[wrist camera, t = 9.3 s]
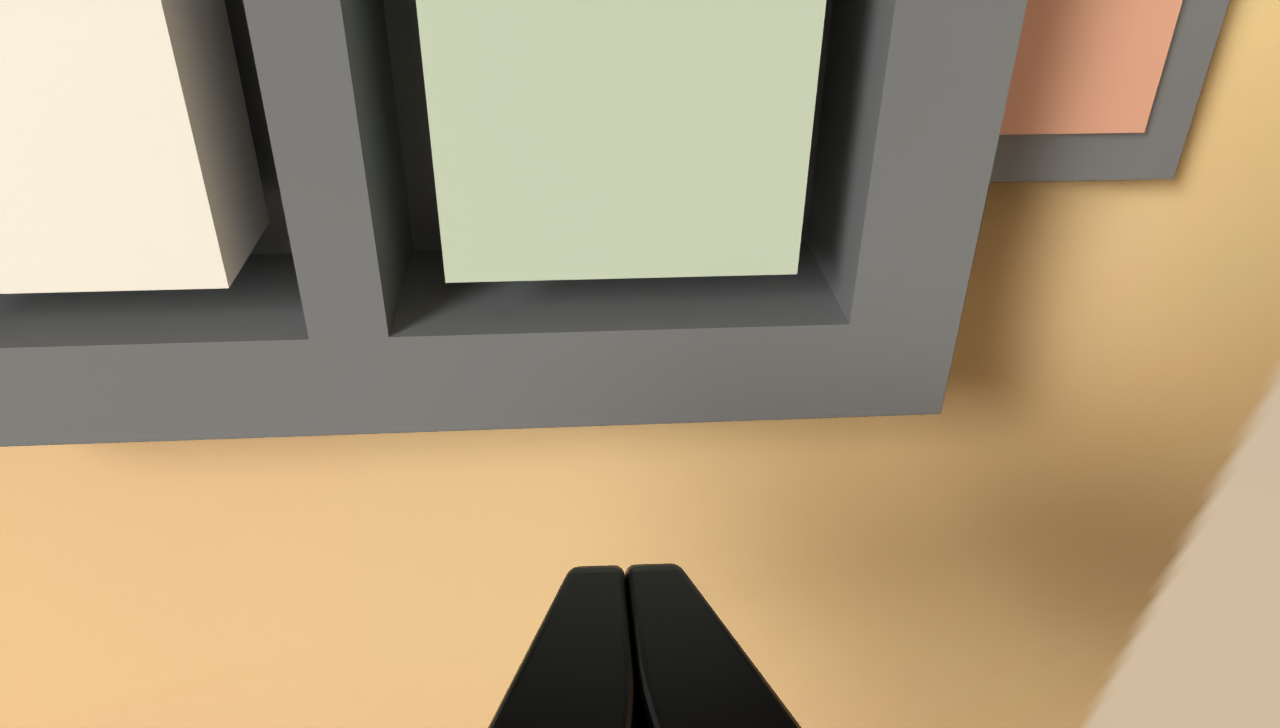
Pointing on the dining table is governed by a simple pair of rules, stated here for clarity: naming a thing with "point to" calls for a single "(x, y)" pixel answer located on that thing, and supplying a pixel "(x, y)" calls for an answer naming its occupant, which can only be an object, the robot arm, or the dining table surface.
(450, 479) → the dining table surface
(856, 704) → the dining table surface
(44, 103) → the key offwhite
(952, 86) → the keypad
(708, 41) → the key sage
